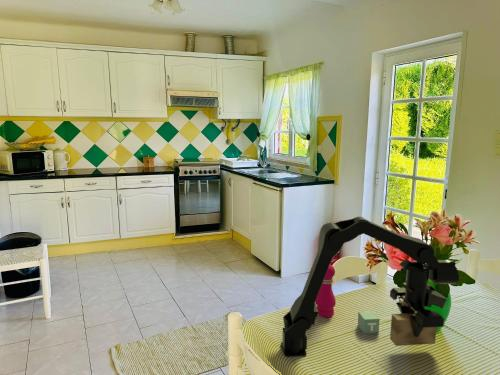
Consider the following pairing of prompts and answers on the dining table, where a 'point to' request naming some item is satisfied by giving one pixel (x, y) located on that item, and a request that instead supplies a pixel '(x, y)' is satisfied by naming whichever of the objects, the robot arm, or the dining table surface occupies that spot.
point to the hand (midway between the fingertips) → (412, 332)
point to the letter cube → (368, 322)
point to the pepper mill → (326, 295)
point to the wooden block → (409, 331)
